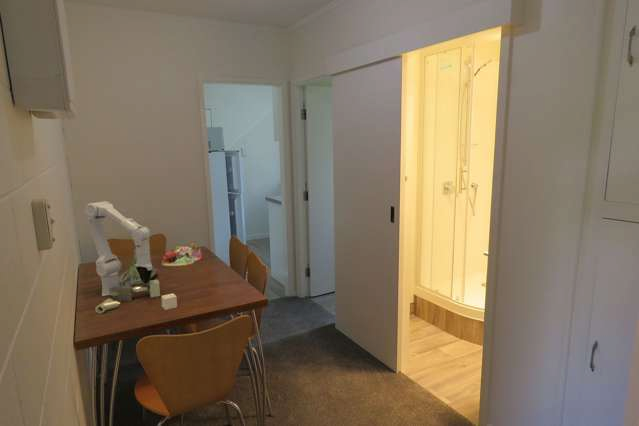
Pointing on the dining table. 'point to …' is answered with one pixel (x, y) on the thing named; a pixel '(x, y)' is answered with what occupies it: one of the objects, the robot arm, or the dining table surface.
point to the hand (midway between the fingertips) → (145, 282)
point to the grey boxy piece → (121, 293)
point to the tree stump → (133, 274)
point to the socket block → (154, 288)
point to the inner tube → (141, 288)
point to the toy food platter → (182, 256)
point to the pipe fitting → (107, 305)
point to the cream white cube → (169, 301)
